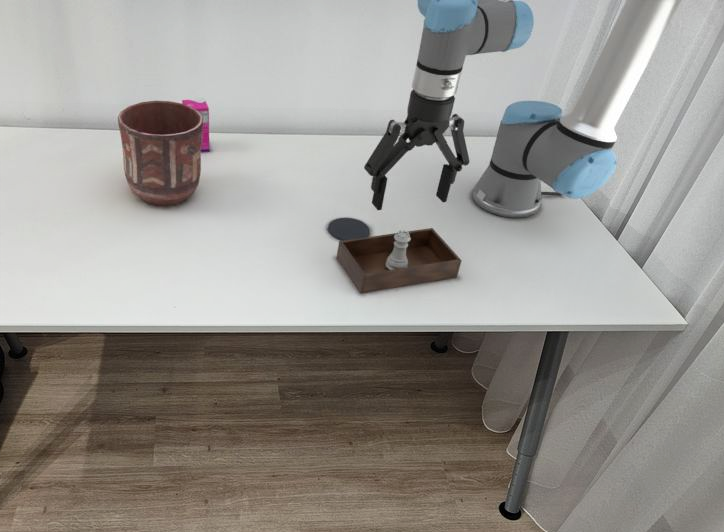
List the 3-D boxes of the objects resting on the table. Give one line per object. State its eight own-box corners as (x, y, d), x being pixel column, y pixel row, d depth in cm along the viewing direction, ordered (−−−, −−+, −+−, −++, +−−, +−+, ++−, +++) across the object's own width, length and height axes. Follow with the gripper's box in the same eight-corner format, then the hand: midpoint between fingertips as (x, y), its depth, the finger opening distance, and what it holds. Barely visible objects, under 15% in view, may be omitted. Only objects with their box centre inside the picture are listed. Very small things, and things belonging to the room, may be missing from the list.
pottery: (186, 168, 174) (184, 95, 162) (214, 204, 163) (215, 128, 151) (114, 181, 168) (107, 106, 156) (138, 219, 156) (133, 141, 144)
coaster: (363, 218, 161) (363, 216, 161) (373, 241, 155) (374, 239, 154) (324, 219, 160) (324, 218, 160) (332, 242, 153) (332, 240, 153)
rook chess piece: (401, 276, 145) (409, 242, 140) (381, 268, 147) (388, 234, 141) (410, 265, 148) (418, 232, 143) (390, 258, 150) (397, 224, 144)
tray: (428, 244, 155) (432, 227, 152) (456, 278, 146) (461, 260, 143) (336, 258, 149) (338, 241, 146) (360, 293, 141) (363, 275, 138)
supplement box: (182, 142, 184) (181, 98, 176) (205, 141, 185) (205, 97, 178) (186, 153, 180) (185, 108, 172) (210, 151, 181) (210, 107, 174)
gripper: (375, 107, 117) (356, 220, 131) (508, 96, 124) (476, 205, 138) (357, 88, 123) (340, 199, 137) (485, 79, 129) (457, 185, 143)
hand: (409, 202), depth 137 cm, fingers open, 13 cm apart
